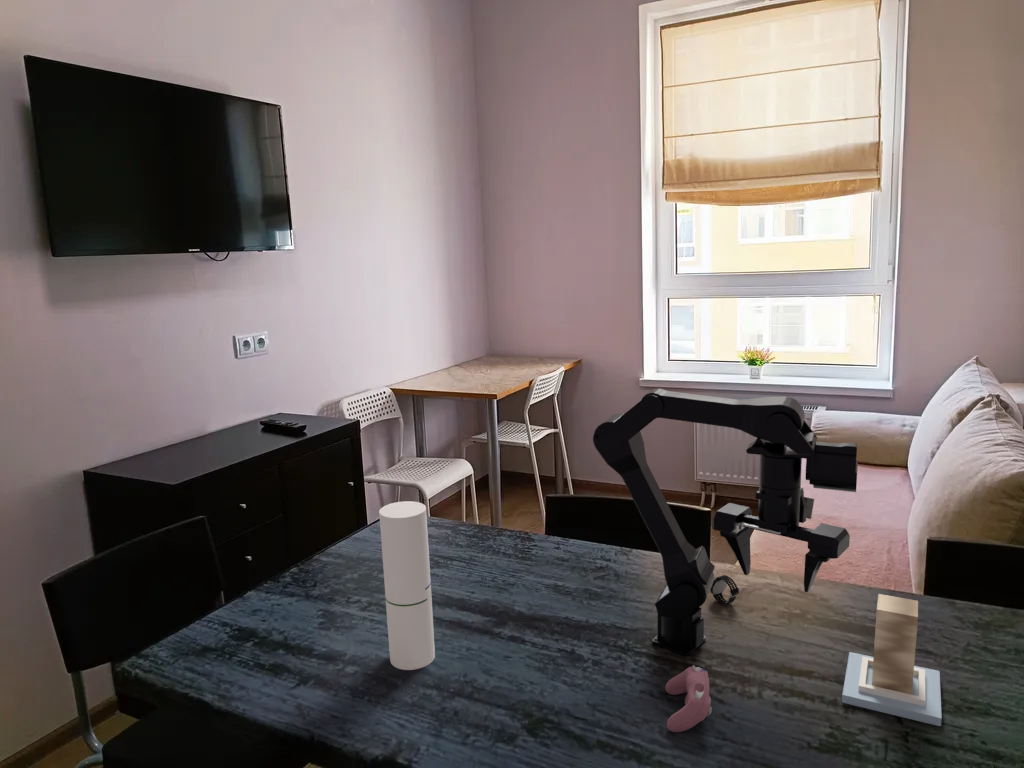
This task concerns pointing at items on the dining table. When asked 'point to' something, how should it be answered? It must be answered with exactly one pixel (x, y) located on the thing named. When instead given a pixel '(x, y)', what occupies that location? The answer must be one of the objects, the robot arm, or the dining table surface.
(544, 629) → the dining table surface
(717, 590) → the smartwatch
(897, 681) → the maple pillar
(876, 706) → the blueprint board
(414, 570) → the cylindrical container
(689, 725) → the video game controller
